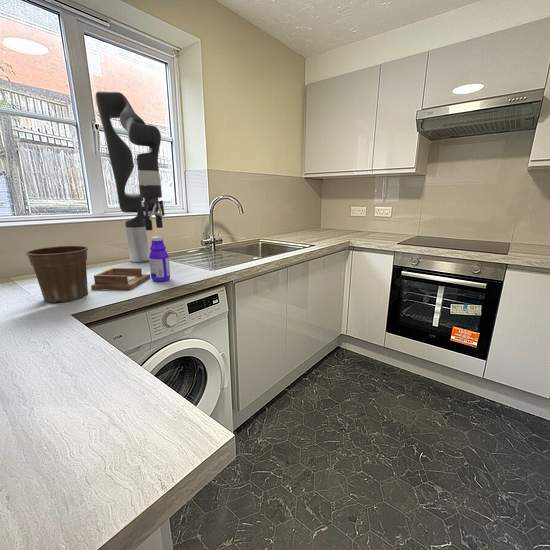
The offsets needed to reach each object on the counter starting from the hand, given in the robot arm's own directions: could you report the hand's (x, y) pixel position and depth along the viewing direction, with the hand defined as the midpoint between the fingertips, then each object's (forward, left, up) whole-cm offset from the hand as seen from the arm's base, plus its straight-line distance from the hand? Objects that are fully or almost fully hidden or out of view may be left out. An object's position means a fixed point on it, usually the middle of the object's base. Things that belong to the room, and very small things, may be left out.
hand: (154, 229), depth 112 cm
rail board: (+5, -13, -20) cm, 24 cm away
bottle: (0, 0, -21) cm, 21 cm away
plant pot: (+21, -23, -21) cm, 37 cm away
